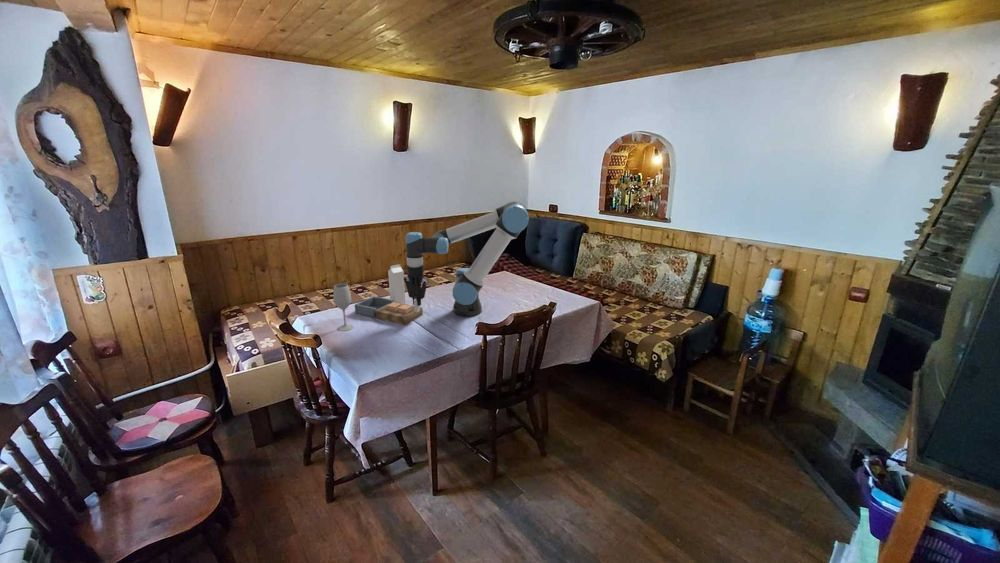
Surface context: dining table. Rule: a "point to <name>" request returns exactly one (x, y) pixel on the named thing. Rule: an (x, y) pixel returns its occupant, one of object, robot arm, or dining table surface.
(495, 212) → the robot arm
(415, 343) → the dining table surface
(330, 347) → the dining table surface
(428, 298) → the dining table surface
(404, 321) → the board
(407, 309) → the tile
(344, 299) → the wineglass
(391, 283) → the milk
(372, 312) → the tray
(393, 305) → the tile
